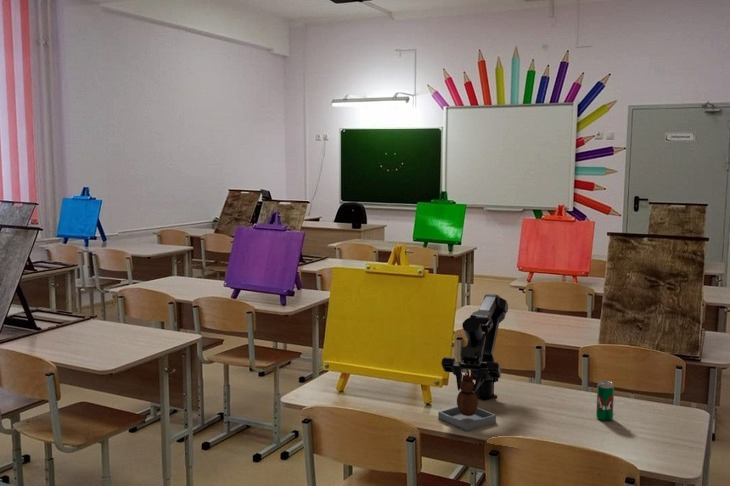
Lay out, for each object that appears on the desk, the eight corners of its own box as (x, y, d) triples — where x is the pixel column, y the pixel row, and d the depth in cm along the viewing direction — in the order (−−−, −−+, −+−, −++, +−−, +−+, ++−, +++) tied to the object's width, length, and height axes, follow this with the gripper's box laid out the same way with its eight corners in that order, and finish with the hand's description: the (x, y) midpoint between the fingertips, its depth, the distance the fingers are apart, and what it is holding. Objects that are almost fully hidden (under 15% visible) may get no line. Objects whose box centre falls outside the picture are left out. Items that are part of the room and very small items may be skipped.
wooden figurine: (480, 416, 215) (481, 370, 213) (465, 419, 213) (465, 373, 211) (469, 409, 221) (469, 364, 219) (454, 412, 219) (454, 367, 217)
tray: (467, 410, 226) (467, 403, 226) (496, 422, 215) (496, 414, 215) (438, 419, 218) (438, 411, 218) (466, 431, 208) (466, 424, 208)
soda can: (612, 416, 219) (614, 381, 218) (613, 422, 215) (614, 386, 213) (596, 415, 221) (597, 379, 220) (596, 420, 216) (597, 384, 215)
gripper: (442, 333, 221) (432, 375, 212) (499, 338, 214) (491, 382, 205) (449, 350, 229) (440, 391, 221) (504, 355, 222) (496, 399, 213)
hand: (466, 391), depth 215 cm, fingers closed on wooden figurine, 5 cm apart
